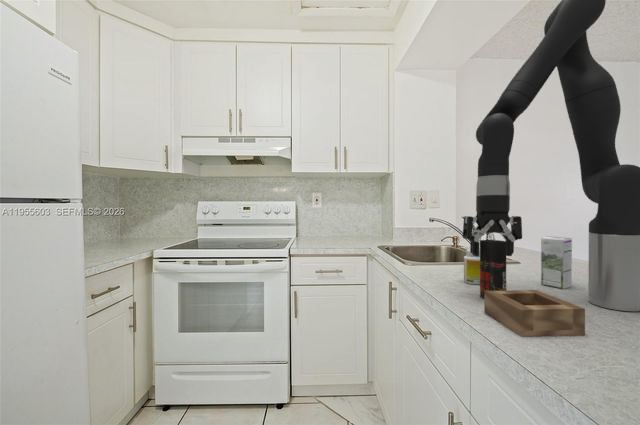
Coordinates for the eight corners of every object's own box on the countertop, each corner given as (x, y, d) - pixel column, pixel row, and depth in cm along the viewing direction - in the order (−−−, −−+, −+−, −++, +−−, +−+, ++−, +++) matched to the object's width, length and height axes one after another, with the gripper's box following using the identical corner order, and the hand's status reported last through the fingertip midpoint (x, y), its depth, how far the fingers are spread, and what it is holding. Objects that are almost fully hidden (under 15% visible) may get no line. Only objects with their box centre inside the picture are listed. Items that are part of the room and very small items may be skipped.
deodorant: (482, 293, 81) (482, 239, 80) (507, 297, 77) (507, 240, 76) (477, 298, 76) (477, 241, 76) (504, 303, 72) (504, 243, 72)
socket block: (536, 311, 66) (536, 289, 66) (585, 335, 54) (585, 308, 54) (484, 312, 66) (484, 290, 66) (521, 336, 54) (521, 309, 54)
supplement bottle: (487, 284, 89) (487, 251, 88) (470, 285, 88) (469, 252, 88) (477, 280, 94) (477, 248, 94) (460, 280, 94) (460, 249, 94)
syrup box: (572, 286, 85) (572, 237, 85) (563, 289, 83) (563, 238, 82) (549, 282, 90) (549, 235, 90) (540, 284, 88) (540, 237, 87)
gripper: (510, 194, 80) (509, 253, 80) (458, 194, 79) (457, 253, 80) (530, 193, 72) (528, 258, 72) (473, 193, 72) (472, 258, 72)
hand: (491, 255), depth 76 cm, fingers open, 8 cm apart
